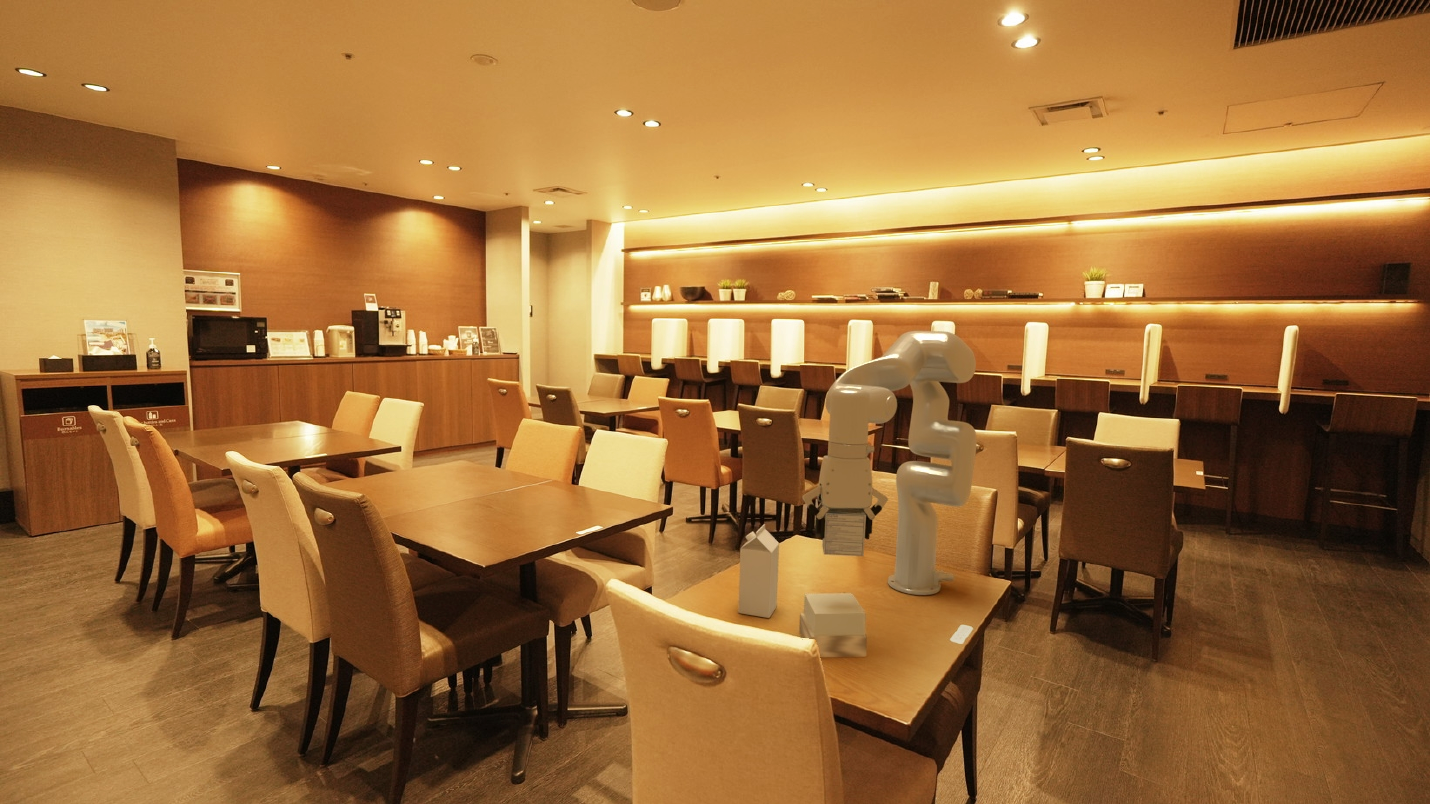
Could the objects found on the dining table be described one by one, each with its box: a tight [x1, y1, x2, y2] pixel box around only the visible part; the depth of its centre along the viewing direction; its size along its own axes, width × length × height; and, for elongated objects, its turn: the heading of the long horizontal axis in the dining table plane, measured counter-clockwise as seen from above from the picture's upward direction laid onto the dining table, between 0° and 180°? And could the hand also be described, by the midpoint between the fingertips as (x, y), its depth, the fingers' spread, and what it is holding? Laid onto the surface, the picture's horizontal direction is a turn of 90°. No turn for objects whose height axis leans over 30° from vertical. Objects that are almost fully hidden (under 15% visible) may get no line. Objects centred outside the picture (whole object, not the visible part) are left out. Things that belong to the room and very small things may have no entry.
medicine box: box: [821, 509, 866, 557], centre depth 133 cm, size 8×4×9 cm, turn 85°
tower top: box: [803, 592, 867, 636], centre depth 135 cm, size 10×10×4 cm
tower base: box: [798, 612, 868, 658], centre depth 135 cm, size 11×11×4 cm
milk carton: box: [737, 523, 780, 619], centre depth 150 cm, size 7×7×19 cm
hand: (843, 536), depth 133 cm, fingers closed on medicine box, 8 cm apart
